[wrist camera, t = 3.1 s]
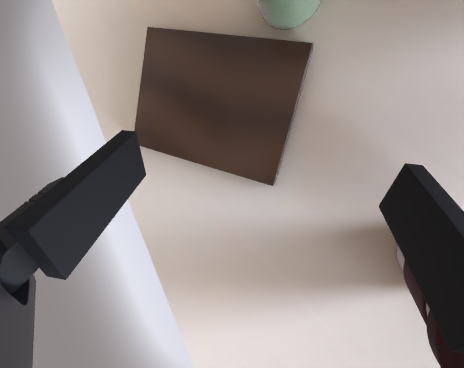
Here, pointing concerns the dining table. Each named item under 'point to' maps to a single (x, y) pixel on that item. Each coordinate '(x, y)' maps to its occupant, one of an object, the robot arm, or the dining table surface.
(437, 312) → the robot arm
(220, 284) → the dining table surface
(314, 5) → the jar
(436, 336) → the coffee cup
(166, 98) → the board
